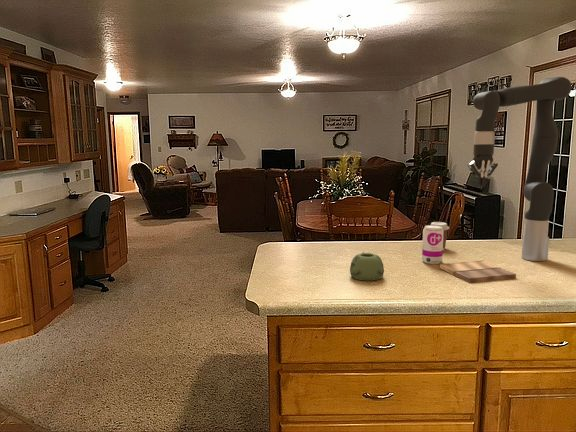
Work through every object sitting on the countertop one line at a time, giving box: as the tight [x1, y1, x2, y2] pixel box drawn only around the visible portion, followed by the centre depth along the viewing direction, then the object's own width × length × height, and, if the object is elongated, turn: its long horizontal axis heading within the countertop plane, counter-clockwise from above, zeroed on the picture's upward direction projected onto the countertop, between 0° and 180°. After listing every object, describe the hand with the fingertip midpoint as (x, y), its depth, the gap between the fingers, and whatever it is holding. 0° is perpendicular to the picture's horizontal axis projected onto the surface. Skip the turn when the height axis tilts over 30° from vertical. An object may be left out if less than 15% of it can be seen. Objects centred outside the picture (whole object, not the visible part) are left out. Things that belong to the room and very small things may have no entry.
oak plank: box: [439, 259, 500, 276], centre depth 189 cm, size 20×9×2 cm, turn 105°
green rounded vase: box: [349, 251, 385, 282], centre depth 182 cm, size 16×13×9 cm
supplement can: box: [421, 224, 444, 265], centre depth 201 cm, size 8×8×15 cm
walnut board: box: [453, 266, 517, 284], centre depth 180 cm, size 20×9×2 cm, turn 105°
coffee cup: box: [430, 221, 450, 251], centre depth 226 cm, size 9×9×12 cm
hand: (481, 186), depth 194 cm, fingers closed
